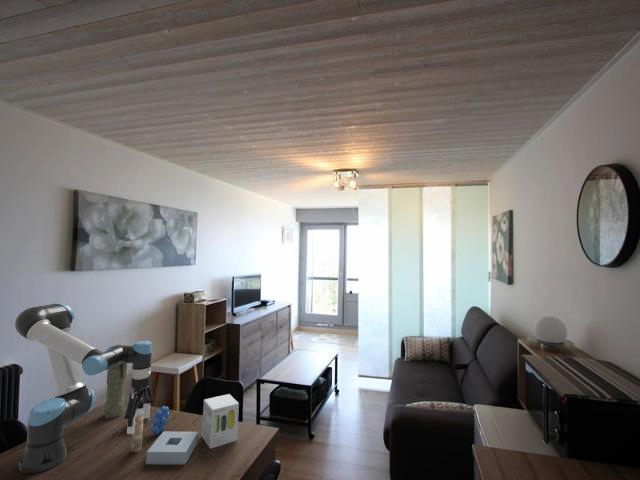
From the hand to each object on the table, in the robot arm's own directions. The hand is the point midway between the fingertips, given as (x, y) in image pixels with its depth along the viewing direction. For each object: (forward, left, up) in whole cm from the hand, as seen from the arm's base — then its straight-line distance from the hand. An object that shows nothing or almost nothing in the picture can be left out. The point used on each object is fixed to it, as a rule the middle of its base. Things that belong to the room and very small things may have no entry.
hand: (138, 425), depth 145 cm
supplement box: (+34, +10, -11) cm, 37 cm away
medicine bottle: (-10, +23, -11) cm, 28 cm away
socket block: (+17, -2, -11) cm, 20 cm away
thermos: (-28, +32, -11) cm, 44 cm away
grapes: (+3, +15, -11) cm, 19 cm away
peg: (0, 0, -11) cm, 11 cm away
